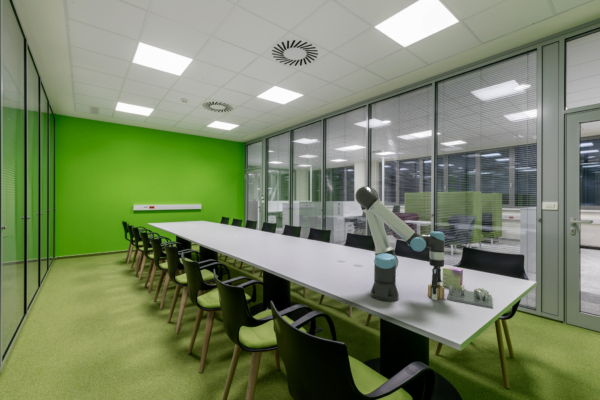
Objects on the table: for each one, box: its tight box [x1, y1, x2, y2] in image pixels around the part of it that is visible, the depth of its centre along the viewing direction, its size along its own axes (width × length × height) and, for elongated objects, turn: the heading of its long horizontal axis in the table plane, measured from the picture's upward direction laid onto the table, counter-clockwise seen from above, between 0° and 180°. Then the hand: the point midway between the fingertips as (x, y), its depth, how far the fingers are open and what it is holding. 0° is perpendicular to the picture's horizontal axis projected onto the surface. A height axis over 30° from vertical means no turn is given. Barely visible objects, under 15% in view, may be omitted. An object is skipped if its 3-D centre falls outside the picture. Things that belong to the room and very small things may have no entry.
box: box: [441, 266, 464, 290], centre depth 175 cm, size 10×6×12 cm, turn 47°
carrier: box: [446, 284, 493, 309], centre depth 155 cm, size 21×21×6 cm
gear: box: [427, 283, 445, 300], centre depth 156 cm, size 8×8×6 cm
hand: (436, 296), depth 156 cm, fingers open, 12 cm apart
